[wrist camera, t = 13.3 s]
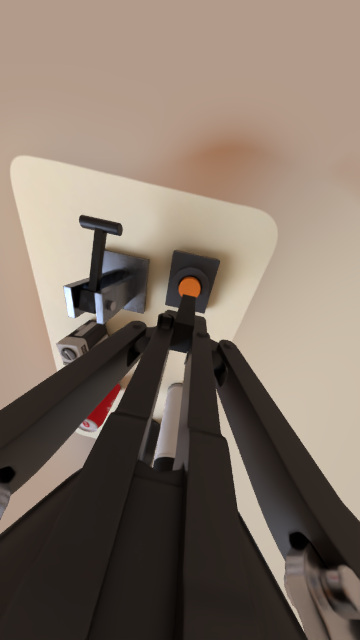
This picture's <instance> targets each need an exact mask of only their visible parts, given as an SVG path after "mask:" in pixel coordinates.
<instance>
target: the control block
mask: <svg viewBox="0 0 360 640" xmlns="http://www.w3.org/2000/svg"><path fill="white" fill-rule="evenodd" d="M219 263H220V261H219V260H218V259H213V258H208V257H204V256H199V255H195V254H190V253H186V252H181V251H177V250H175V251H174V252H173V258H172V265H171V271H170V277H169V284H168V290H167V296H166V302H165V305H168V306H172V307H177V308H179V306H180V302H181V299H182V296H181V295H180V293H179V285H180V283H181V281H182V280H183V279H184V278H186V277H189V276H190V277H194V278H196V279H197V280H198V281H199V283H200V294H199V295H198V297H196V303H195V312H199V313H205V310H206V306H207V303H208V300H209V297H210V293H211V290H212V287H213V283H214V280H215V277H216V273H217V270H218V267H219Z"/></svg>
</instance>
